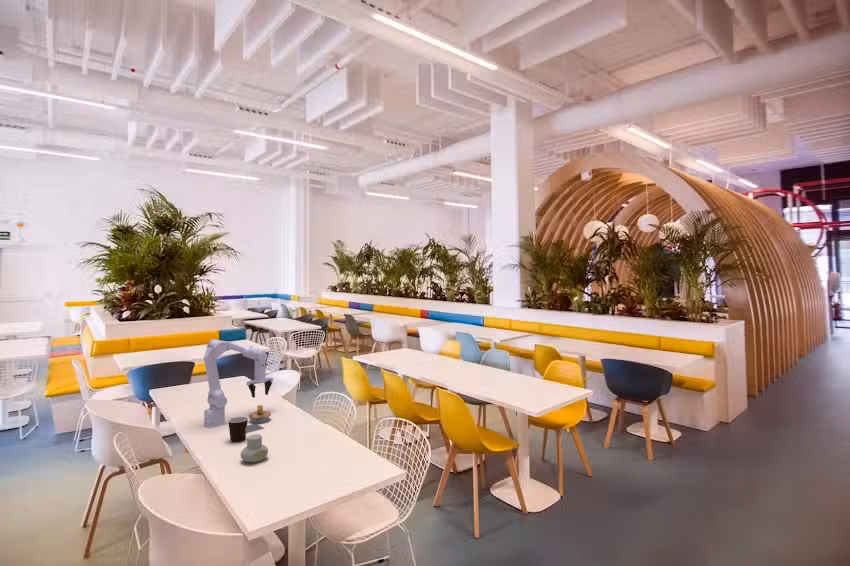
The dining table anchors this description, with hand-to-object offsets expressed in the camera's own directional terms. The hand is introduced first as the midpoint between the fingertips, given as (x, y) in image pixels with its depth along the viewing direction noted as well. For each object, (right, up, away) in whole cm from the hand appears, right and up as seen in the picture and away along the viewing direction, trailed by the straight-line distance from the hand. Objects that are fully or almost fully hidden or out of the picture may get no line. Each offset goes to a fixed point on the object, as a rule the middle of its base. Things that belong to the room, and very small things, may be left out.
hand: (260, 395), depth 249 cm
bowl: (+5, -10, -13) cm, 17 cm away
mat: (+5, -11, -25) cm, 27 cm away
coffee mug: (+5, -11, -39) cm, 40 cm away
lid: (+5, -7, -13) cm, 16 cm away
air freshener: (+21, -12, -61) cm, 66 cm away
